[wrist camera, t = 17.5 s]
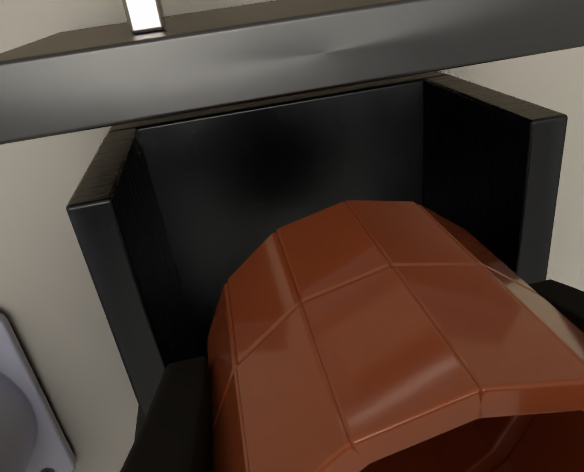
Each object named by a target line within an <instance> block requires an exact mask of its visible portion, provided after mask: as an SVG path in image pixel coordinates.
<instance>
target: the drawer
mask: <svg viewBox="0 0 584 472" xmlns="http://www.w3.org/2000/svg"><path fill="white" fill-rule="evenodd" d="M122 2H123V6H124V9H125V13H126V17H127V21H128V22H127V23H120V24H113V25H106V26H100V27H93V28H86V29H79V30H72V31H66V32H60V33H57V34H54V35H51V36H49V37H46V38H43V39H40V40H37V41H35V42H32V43H29V44H26V45H23V46H20V47H18V48H15V49H12V50H9V51H6V52H4V53H1V54H0V144H6V143H12V142H18V141H24V140H30V139H36V138H42V137H48V136H54V135H60V134H66V133H72V132H77V131H83V130H89V129H95V128H101V127H107V126H112V127H111V128H110V130H109V132H108V133H107V135H106V137H105V138H104V140H103V142H102V144H101V145H100V147H99V149H98V151H97V153H96V154H95V156H94V158H93V160H92V162H91V163H90V165H89V167H88V169H87V171H86V172H85V174H84V176H83V178H82V180H81V181H80V183H79V185H78V187H77V189H76V190H75V192H74V194H73V196H72V198H71V199H70V201H69V203H68V205H67V207H66V210H67V213H68V215H69V218H70V221H71V223H72V226H73V229H74V232H75V234H76V237H77V240H78V242H79V245H80V248H81V250H82V253H83V256H84V258H85V261H86V264H87V266H88V269H89V272H90V275H91V277H92V280H93V283H94V285H95V288H96V291H97V293H98V296H99V299H100V301H101V304H102V307H103V310H104V312H105V315H106V318H107V320H108V323H109V326H110V328H111V331H112V334H113V336H114V339H115V342H116V345H117V347H118V350H119V353H120V355H121V358H122V361H123V363H124V366H125V369H126V371H127V374H128V377H129V380H130V382H131V385H132V388H133V390H134V393H135V396H136V398H137V401H138V404H139V406H140V409H141V412H142V415H143V417H144V419H145V417H146V415H147V413H148V410H149V408H150V405H151V403H152V401H153V398H154V396H155V393H156V391H157V388H158V385H159V383H160V380H161V377H162V375H163V372H164V370H165V368H166V367H167V366H168V365H169V363H174V362H178V361H183V360H188V359H192V358H197V357H201V356H205V357H206V361H207V364H208V347H207V345H208V335H209V331H210V328H211V325H212V322H213V318H214V315H215V312H216V309H217V306H218V302H219V299H220V296H221V293H222V289H223V286H224V285H225V284H226V283H227V281H228V278H229V277H230V276H231V275H232V274H233V273H234V272H235V271H236V270H237V269H238V268H239V267H240V266H241V265H242V264H243V263H244V262H245V261H246V260H247V259H248V258H249V257H250V256H251V255H252V254H253V252H254V251H255V250H256V249H257V248H258V247H259V246H260V245H261V244H262V243H263V242H264V241H265V240H266V239H267V238H268V237H269V236H270V235H271V234H272V233H274V232H276V230H277V229H278V228H280V227H282V226H285V225H287V224H290V223H292V222H294V221H297V220H299V219H302V218H304V217H306V216H309V215H311V214H314V213H316V212H318V211H321V210H323V209H326V208H328V207H330V206H333V205H335V204H338V203H340V202H345V201H346V200H364V201H411V202H415V203H416V204H419V205H422V206H424V207H426V208H428V209H429V210H431V211H433V212H435V213H437V214H438V215H440V216H442V217H444V218H445V219H447V220H449V221H451V222H453V223H454V224H456V225H458V226H460V227H461V228H463V229H465V230H466V231H468V232H469V233H470V234H471V235H472V236H473V237H474V238H476V239H477V240H478V241H479V242H480V243H481V244H482V245H483V246H485V247H486V248H487V249H488V250H489V251H490V252H491V253H493V254H494V255H495V256H496V257H497V258H498V259H499V260H500V261H502V262H503V263H504V264H505V265H506V266H507V267H508V268H510V269H511V270H512V271H513V272H514V273H515V274H516V275H517V276H519V277H520V278H521V279H522V280H523V281H524V282H525V283H527V284H532V283H536V282H541V281H545V280H546V275H547V268H548V260H549V253H550V245H551V238H552V230H553V223H554V215H555V208H556V200H557V193H558V186H559V178H560V171H561V163H562V156H563V148H564V141H565V133H566V126H567V119H568V118H567V115H565V114H562V113H559V112H556V111H553V110H550V109H548V108H545V107H542V106H539V105H536V104H533V103H530V102H527V101H524V100H521V99H518V98H515V97H512V96H509V95H506V94H504V93H501V92H498V91H495V90H492V89H489V88H486V87H483V86H480V85H477V84H474V83H471V82H468V81H465V80H462V79H459V78H457V77H454V76H451V75H447V74H444V73H441V72H438V71H439V70H445V69H451V68H457V67H463V66H469V65H475V64H481V63H487V62H493V61H499V60H505V59H511V58H517V57H523V56H529V55H534V54H540V53H546V52H552V51H558V50H564V49H570V48H576V47H582V46H584V0H276V1H269V2H262V3H255V4H249V5H242V6H235V7H228V8H221V9H215V10H208V11H201V12H194V13H188V14H181V15H174V16H167V17H164V13H163V8H162V4H161V0H122ZM208 368H209V367H208Z"/></svg>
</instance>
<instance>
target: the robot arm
mask: <svg viewBox="0 0 584 472" xmlns="http://www.w3.org/2000/svg"><path fill="white" fill-rule="evenodd" d="M528 285H529V286H530V287H531V288H532V289H533V290H534V291H536V292H537V293H538V294H539V295H540V296H541V297H543V298H544V299H546V300H547V301H548V302H549V303H550V304H551V305H552V306H553V307H555V308H556V309H557V310H558V311H559V312H560V313H561V314H563V315H564V316H565V317H566V318H567V319H568V320H569V321H571V322H572V323H573V324H574V325H575V326H576V327H577V328H578V329H580V330H581V331H582V332H583V333H584V292H583V291H581V290H578V289H576V288H573V287H570V286H568V285H565V284H562V283H559V282H556V281H553V280H545V281H541V282H536V283H532V284H528ZM75 466H76V459H75V456H74V454H73V452H72V450H71V448H70V446H69V444H68V442H67V440H66V438H65V436H64V434H63V432H62V430H61V428H60V426H59V424H58V422H57V420H56V418H55V415H54V413H53V411H52V409H51V407H50V405H49V403H48V401H47V399H46V397H45V395H44V393H43V391H42V389H41V387H40V385H39V383H38V381H37V379H36V376H35V374H34V372H33V370H32V368H31V366H30V364H29V362H28V360H27V358H26V356H25V354H24V352H23V350H22V348H21V346H20V344H19V342H18V340H17V338H16V335H15V333H14V331H13V329H12V327H11V325H10V323H9V321H8V319H7V318H6V317H5V315H4V314H2V313H0V472H74V469H75ZM49 468H50V469H49ZM120 472H213V458H212V413H211V393H210V374H209V368H208V364H207V361H206V357H205V356H201V357H197V358H192V359H188V360H183V361H178V362H174V363H169V365H168V366H167V367H166V368H165V370H164V372H163V375H162V377H161V380H160V383H159V385H158V388H157V391H156V393H155V396H154V398H153V401H152V403H151V405H150V408H149V410H148V413H147V415H146V417H145V419H144V422H143V424H142V426H141V429H140V431H139V433H138V435H137V438H136V440H135V442H134V444H133V446H132V448H131V450H130V452H129V454H128V456H127V459H126V461H125V463H124V465H123V467H122V469H121V471H120Z"/></svg>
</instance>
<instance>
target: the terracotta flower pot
mask: <svg viewBox="0 0 584 472" xmlns="http://www.w3.org/2000/svg"><path fill="white" fill-rule="evenodd" d="M207 347H208V367H209V374H210V393H211V413H212V458H213V472H584V333H583V332H582V331H581V330H580V329H578V328H577V327H576V326H575V325H574V324H573V323H572V322H571V321H569V320H568V319H567V318H566V317H565V316H564V315H563V314H561V313H560V312H559V311H558V310H557V309H556V308H555V307H553V306H552V305H551V304H550V303H549V302H548V301H547V300H546V299H544V298H543V297H541V296H540V295H539V294H538V293H537V292H536V291H534V290H533V289H532V288H531V287H530V286H529V285H528V284H527V283H525V282H524V281H523V280H522V279H521V278H520V277H519V276H517V275H516V274H515V273H514V272H513V271H512V270H511V269H510V268H508V267H507V266H506V265H505V264H504V263H503V262H502V261H500V260H499V259H498V258H497V257H496V256H495V255H494V254H493V253H491V252H490V251H489V250H488V249H487V248H486V247H485V246H483V245H482V244H481V243H480V242H479V241H478V240H477V239H476V238H474V237H473V236H472V235H471V234H470V233H469V232H468V231H466V230H465V229H463V228H461V227H460V226H458V225H456V224H454V223H453V222H451V221H449V220H447V219H445V218H444V217H442V216H440V215H438V214H437V213H435V212H433V211H431V210H429V209H428V208H426V207H424V206H422V205H419V204H416V203H415V202H411V201H364V200H346V201H345V202H340V203H338V204H335V205H333V206H330V207H328V208H326V209H323V210H321V211H318V212H316V213H314V214H311V215H309V216H306V217H304V218H302V219H299V220H297V221H294V222H292V223H290V224H287V225H285V226H282V227H280V228H278V229H277V230H276V232H274V233H272V234H271V235H270V236H269V237H268V238H267V239H266V240H265V241H264V242H263V243H262V244H261V245H260V246H259V247H258V248H257V249H256V250H255V251H254V252H253V254H252V255H251V256H250V257H249V258H248V259H247V260H246V261H245V262H244V263H243V264H242V265H241V266H240V267H239V268H238V269H237V270H236V271H235V272H234V273H233V274H232V275H231V276H230V277H229V278H228V281H227V283H226V284H225V285H224V286H223V289H222V293H221V296H220V299H219V302H218V306H217V309H216V312H215V315H214V318H213V322H212V325H211V328H210V331H209V335H208V345H207Z"/></svg>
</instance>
